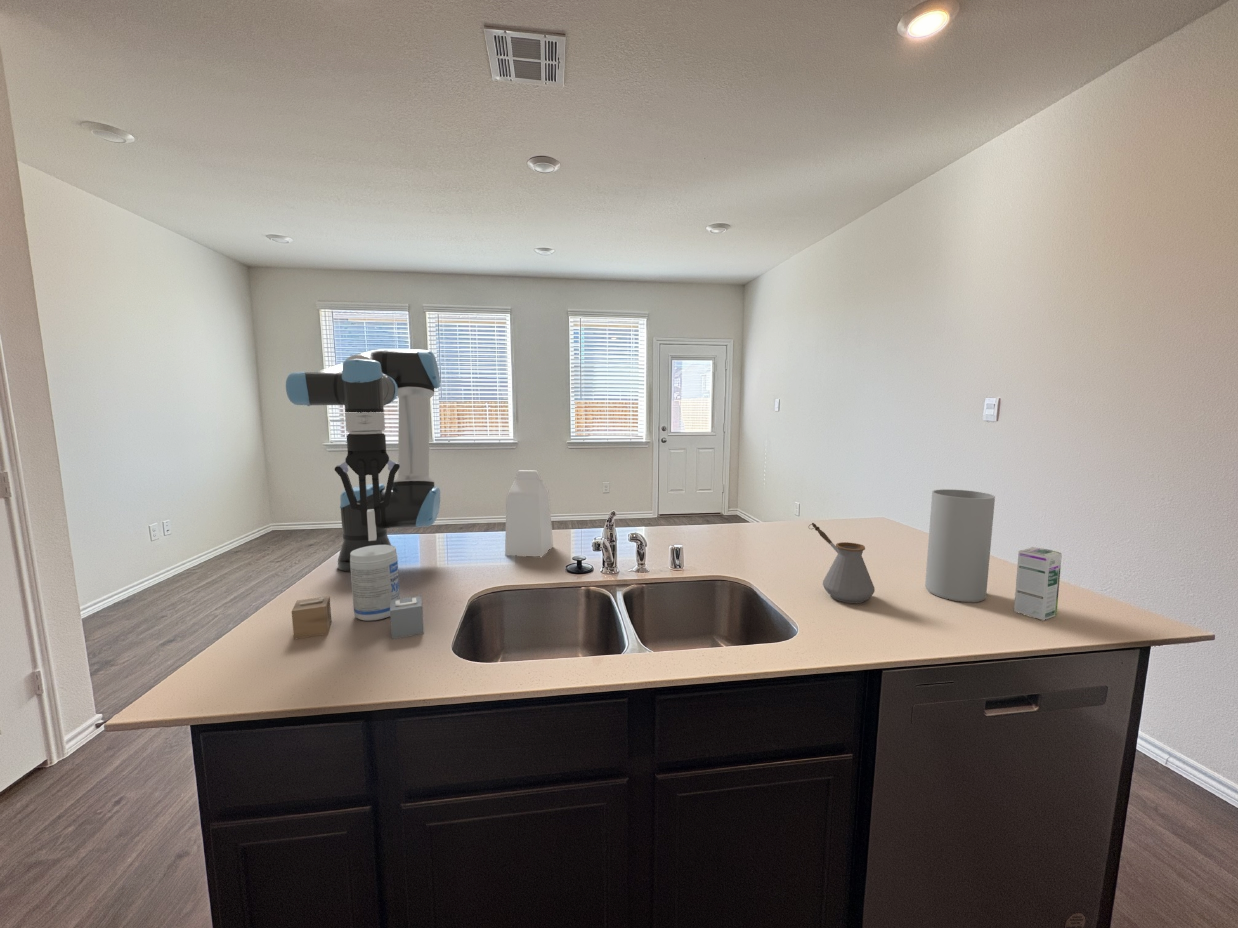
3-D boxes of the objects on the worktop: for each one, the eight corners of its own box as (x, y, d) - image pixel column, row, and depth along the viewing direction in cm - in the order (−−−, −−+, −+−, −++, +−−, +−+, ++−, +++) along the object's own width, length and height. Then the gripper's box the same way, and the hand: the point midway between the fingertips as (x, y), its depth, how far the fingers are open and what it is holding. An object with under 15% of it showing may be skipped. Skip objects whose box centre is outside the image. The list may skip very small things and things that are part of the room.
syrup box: (1044, 621, 107) (1050, 556, 106) (1012, 611, 113) (1018, 549, 111) (1056, 616, 110) (1063, 552, 108) (1025, 606, 115) (1031, 545, 114)
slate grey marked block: (392, 627, 106) (390, 598, 105) (422, 622, 108) (420, 594, 108) (391, 639, 101) (390, 609, 100) (423, 633, 103) (422, 604, 102)
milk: (505, 555, 156) (502, 472, 152) (518, 545, 167) (516, 467, 164) (542, 557, 154) (540, 473, 150) (553, 546, 165) (551, 468, 162)
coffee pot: (885, 604, 117) (889, 541, 115) (842, 608, 114) (846, 545, 113) (827, 574, 138) (830, 520, 136) (790, 577, 135) (792, 523, 133)
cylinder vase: (995, 596, 121) (1005, 495, 118) (970, 607, 115) (979, 500, 112) (941, 581, 132) (948, 487, 129) (914, 590, 126) (921, 492, 122)
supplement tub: (404, 615, 112) (400, 551, 110) (356, 626, 106) (351, 559, 105) (396, 601, 120) (392, 541, 118) (351, 610, 114) (347, 548, 113)
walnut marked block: (299, 627, 106) (296, 598, 105) (331, 622, 108) (329, 594, 108) (294, 639, 101) (291, 609, 100) (328, 633, 103) (325, 604, 102)
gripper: (329, 434, 102) (337, 546, 105) (399, 432, 107) (404, 539, 110) (333, 432, 109) (340, 538, 111) (398, 431, 114) (404, 532, 117)
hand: (372, 539), depth 111 cm, fingers closed
